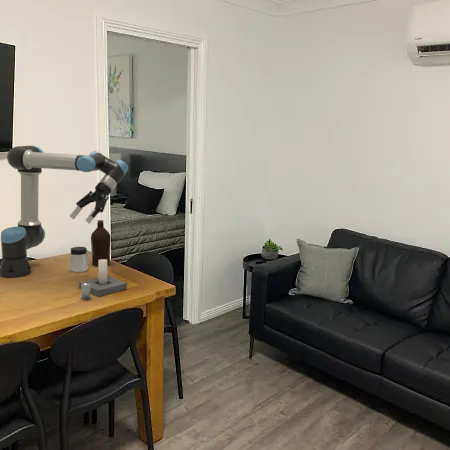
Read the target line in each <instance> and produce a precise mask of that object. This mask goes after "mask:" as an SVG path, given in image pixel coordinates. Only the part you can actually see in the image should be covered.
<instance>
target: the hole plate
mask: <svg viewBox="0 0 450 450" xmlns="http://www.w3.org/2000/svg"><path fill="white" fill-rule="evenodd" d="M83 282H90V285H91V295H92V296H93V295H94V296H95V297H97V298H99V297H103V296H106V295H110V294H114V293H117V291H118V292H122V291H125V290H128V283H127V282H125V281H123V280H120V279H117V278H115V277H112V276H109V275H107V284H105V285H99V277H96V278H91V279H88V280H83V281H78V288H79V289H80V290H81V283H83ZM124 289H125V290H124ZM121 290H122V291H121Z"/></svg>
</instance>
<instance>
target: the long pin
mask: <svg viewBox="0 0 450 450" xmlns="http://www.w3.org/2000/svg"><path fill="white" fill-rule="evenodd" d="M97 267H98V278H99V285H105V284H107V276H108V265H107V260H106V259H100V260H98V266H97Z"/></svg>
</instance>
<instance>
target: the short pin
mask: <svg viewBox="0 0 450 450" xmlns="http://www.w3.org/2000/svg"><path fill="white" fill-rule="evenodd" d="M80 290H81V291H80V296H81V300H83V301H87V300H91V299H92V294H91V285H90V282H83V283H81V289H80Z"/></svg>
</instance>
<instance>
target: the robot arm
mask: <svg viewBox="0 0 450 450" xmlns="http://www.w3.org/2000/svg"><path fill="white" fill-rule="evenodd" d="M6 158H7V163H8V164H9V166H10V167H12V168H13V169H15V170H17V173H19V174H20V220H19V221H17V226H12V227H7V228H5V229H3V230H2V231H1V233H0V234H1V236H0V242H1V259H2V260H1V262H0V275H1V276H0V277H2V276H4V277H3V278H19V277H25V276H28V275H31V273H32V267H31V263H30V261H29V259H28V255H27V254H28V251H27V250H29V249H32V248H35V247H37V246H39V245H41V244H42V243H43V242H44V240H45V238H46V231H45V229H44V228H43V226H42V222H41V221H40V220H39V184H40V183H39V176H40V175H41V174H42V172H43V171H42V169H52V170H64V171H76V172H77V171H78V172H83V173H90V172H94V171H100V172H102V173H103V174H104V175H103V177H102V178H101V179H100V181H99V182H97V184H96V185H95V186H94V189H95V190H94V192H93V191H92V190H90V191H89V192H88V193H86V195H84V196H83V197H82V198H81V199H79V200H78V201H77V202H76V203H75V204H76V207H75V209H73V211H72V212H71V214H69V217H70V218H71V219H72V220H75V219H76V218H77V216H79V215H80V212H81V211H82V210H83V208H85V207H86V206H88V205H90V204H92V203H95V205H94V209H92V210H91V212H90V213H89V214H88V215H87V217H86V218H85V219H84V220H85V222H86V223H88V224H89V225H90V224H91V223H92V221H93V220H94V219H95V218H96V217H97V216H98V214H100V213H103V212H104V210H105V207H106V205H107V202H108V200H109V198H110V196H109V195H110V194H111V193H112V191H113V190H114V189H115V187H116V186H117V185H118V184H119V183H120V181H122V179H123V178H124V176H125V175H126V173H127V172H128V170H129V165H128V164H127V163H126V162H125V161H123V160H122V159H117V160H112V159H110V158H108V157H107V156H105V155H104V154H102V153H101V152H99V151H96V150H92V151H91V152H90V153H89V155H87V154H86V155H83V154H81V155H80V154H69V153H68V154H67V153H53V152H44V151H43V149H41V148H40V146H36V145H23V146H22V145H21V146H14V147H12V148H11V149H10V150H9V151H8V152H7V155H6Z"/></svg>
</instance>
